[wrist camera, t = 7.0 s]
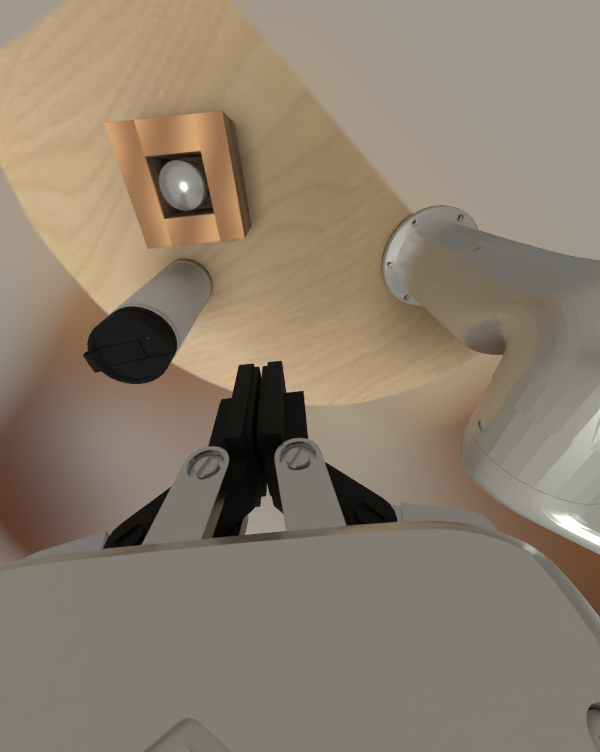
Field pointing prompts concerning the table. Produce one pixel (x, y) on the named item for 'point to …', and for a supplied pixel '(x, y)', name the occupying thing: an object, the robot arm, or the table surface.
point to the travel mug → (150, 325)
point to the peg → (184, 184)
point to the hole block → (176, 141)
